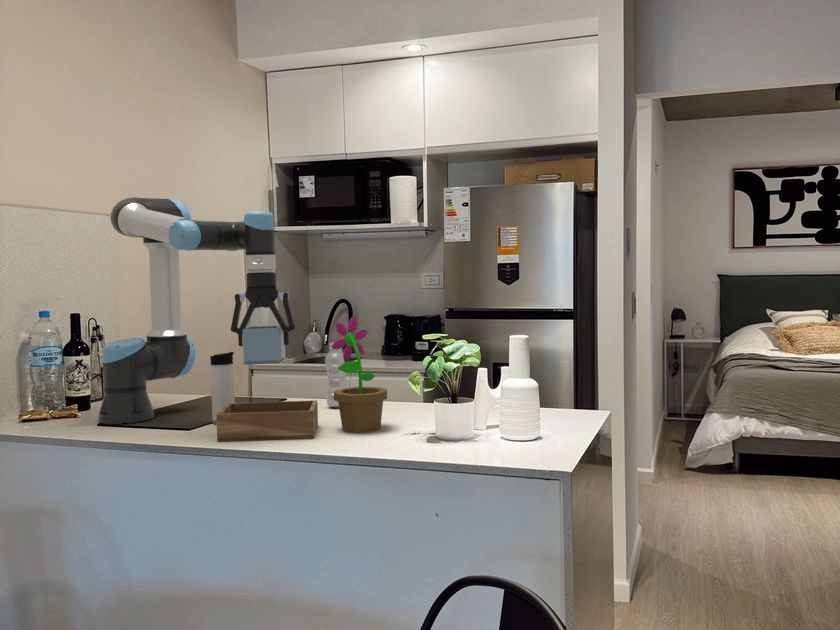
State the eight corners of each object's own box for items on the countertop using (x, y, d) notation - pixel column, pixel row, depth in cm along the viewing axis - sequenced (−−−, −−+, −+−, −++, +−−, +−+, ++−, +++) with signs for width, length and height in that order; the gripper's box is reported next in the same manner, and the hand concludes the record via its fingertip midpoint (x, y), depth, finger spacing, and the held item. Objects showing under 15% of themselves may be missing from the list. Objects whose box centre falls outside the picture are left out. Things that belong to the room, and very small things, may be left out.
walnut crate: (229, 428, 210) (228, 403, 209) (318, 425, 211) (317, 400, 210) (217, 441, 194) (216, 414, 193) (313, 438, 195) (312, 411, 195)
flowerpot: (364, 421, 216) (362, 314, 214) (399, 428, 206) (397, 316, 204) (323, 429, 206) (320, 317, 204) (358, 437, 196) (355, 319, 194)
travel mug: (230, 424, 215) (227, 353, 213) (208, 424, 216) (205, 353, 215) (240, 420, 221) (237, 350, 219) (218, 419, 222) (216, 350, 221)
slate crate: (250, 360, 205) (248, 326, 205) (284, 359, 205) (282, 325, 205) (244, 364, 196) (242, 329, 196) (279, 363, 197) (278, 328, 196)
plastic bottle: (347, 409, 235) (345, 343, 234) (325, 409, 235) (323, 344, 234) (349, 405, 241) (347, 341, 240) (328, 405, 241) (326, 342, 240)
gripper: (215, 272, 195) (219, 361, 197) (301, 270, 196) (305, 358, 198) (221, 272, 203) (225, 358, 204) (304, 270, 204) (307, 355, 205)
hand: (264, 358), depth 201 cm, fingers closed on slate crate, 9 cm apart
